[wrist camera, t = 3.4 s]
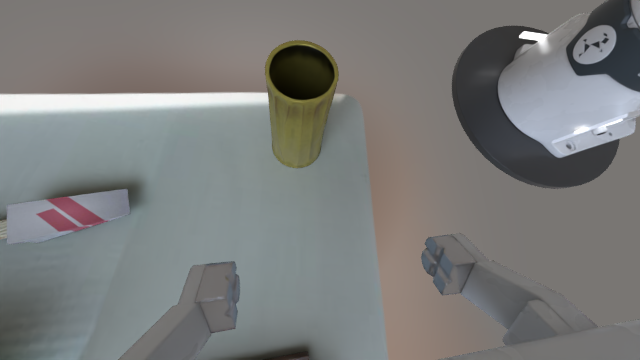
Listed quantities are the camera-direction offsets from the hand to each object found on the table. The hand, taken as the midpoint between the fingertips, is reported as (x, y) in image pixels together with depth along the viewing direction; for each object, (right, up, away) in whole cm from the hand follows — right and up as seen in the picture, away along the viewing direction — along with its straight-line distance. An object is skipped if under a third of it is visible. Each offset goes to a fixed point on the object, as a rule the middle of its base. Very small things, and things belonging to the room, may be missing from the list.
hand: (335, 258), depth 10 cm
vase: (-4, +8, +21) cm, 23 cm away
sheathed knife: (-30, -2, +15) cm, 34 cm away
